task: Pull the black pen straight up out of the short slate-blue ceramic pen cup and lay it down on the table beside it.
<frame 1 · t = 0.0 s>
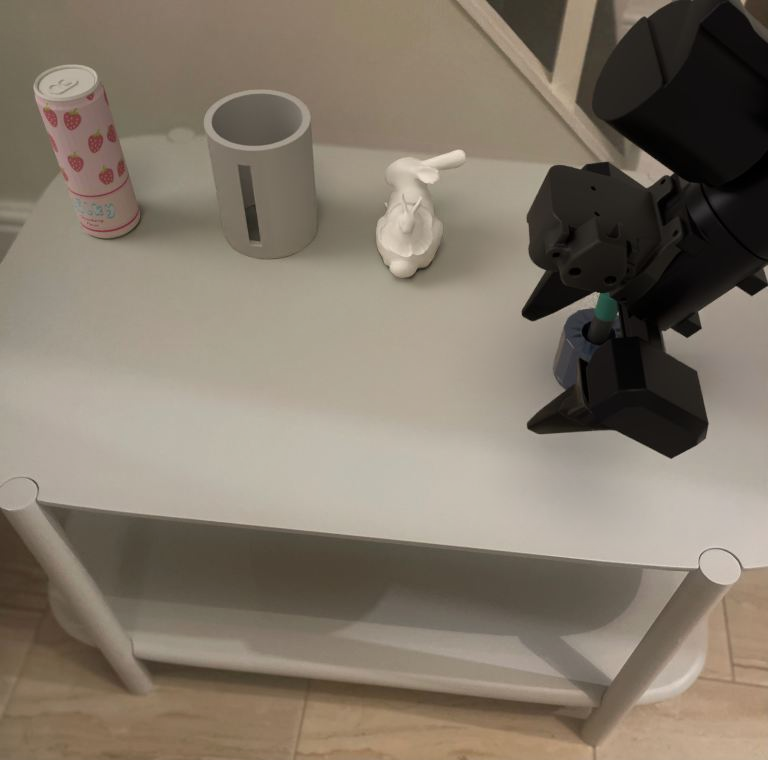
hand: (529, 369, 50), 13 cm above the table, tool tilted 35°, fingers open, 9 cm apart
pen cup: (585, 372, 67), on the table
beverage can: (112, 222, 78), on the table
rabbit figurine: (416, 246, 76), on the table
cup: (271, 228, 78), on the table
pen: (586, 368, 66), resting on pen cup
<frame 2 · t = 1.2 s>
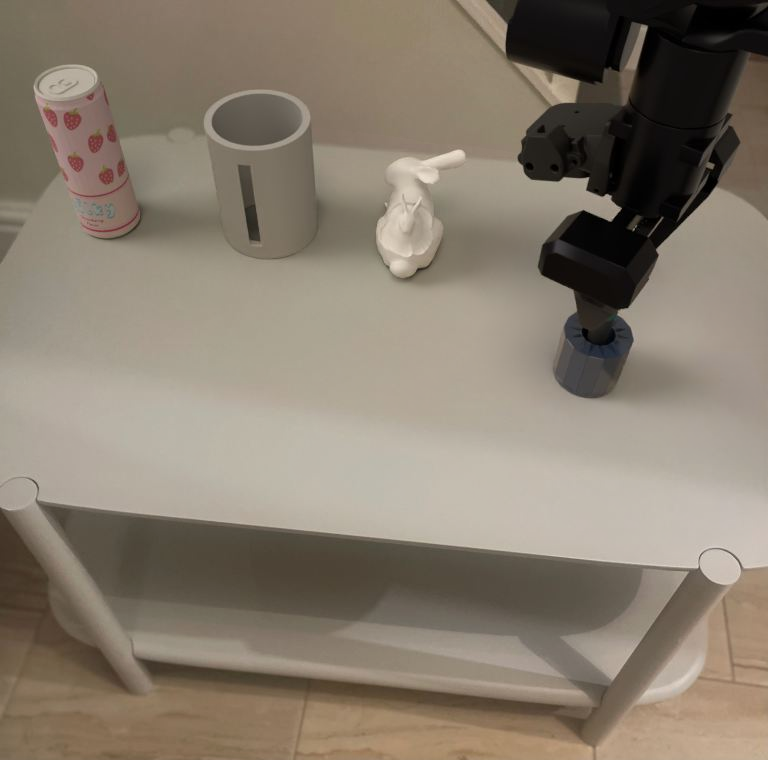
hand: (614, 290, 59), 10 cm above the table, tool pointing down, fingers open, 9 cm apart
nothing on the table moved.
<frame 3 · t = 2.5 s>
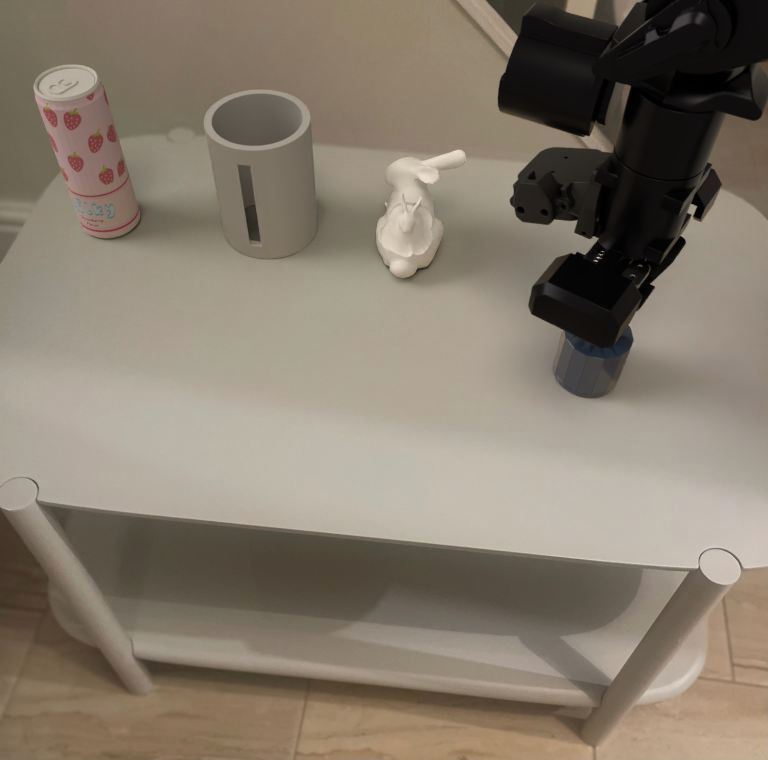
hand: (602, 322, 62), 6 cm above the table, tool pointing down, fingers closed on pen, 2 cm apart
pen: (586, 368, 66), point 1 cm above the table, touching gripper, pen cup
everything else where it was.
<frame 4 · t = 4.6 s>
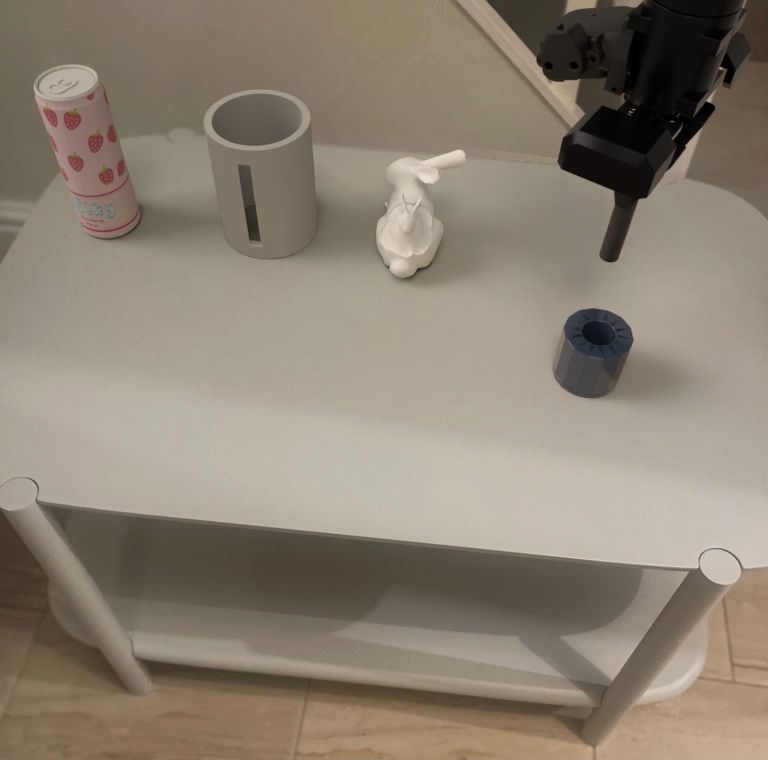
hand: (627, 200, 60), 13 cm above the table, tool pointing down, fingers closed on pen
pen: (608, 256, 65), point 7 cm above the table, touching gripper
everything else where it was.
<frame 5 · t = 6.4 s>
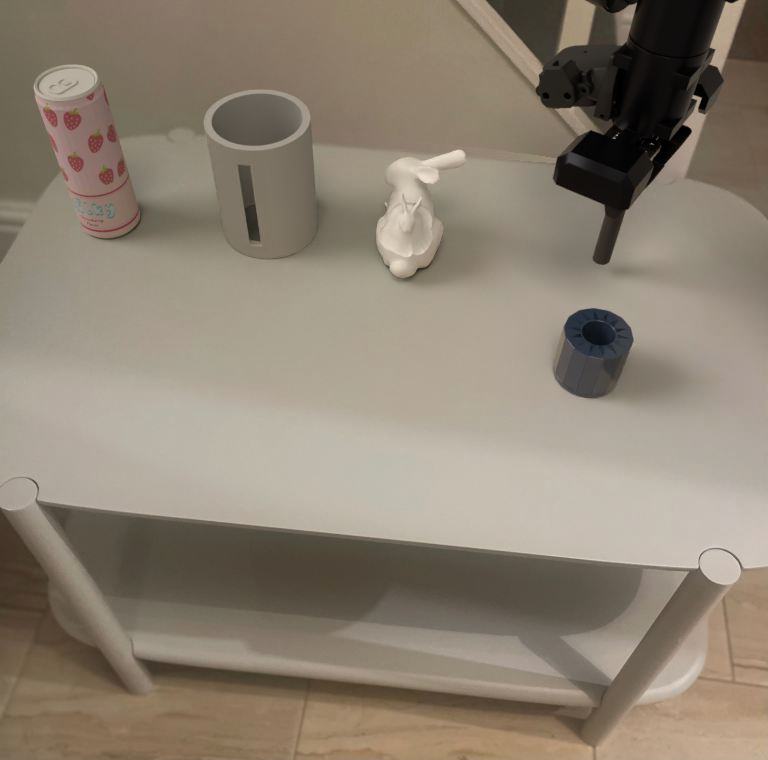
hand: (616, 210, 69), 7 cm above the table, tool pointing down, fingers closed on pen, 2 cm apart
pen: (601, 259, 73), point 1 cm above the table, touching gripper
everything else where it was.
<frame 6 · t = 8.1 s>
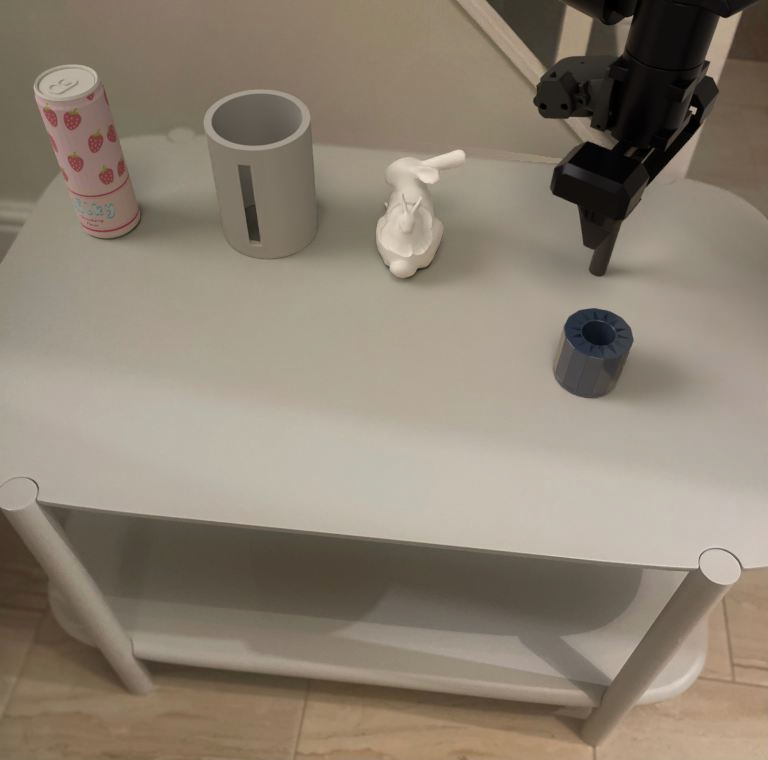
hand: (613, 218, 70), 6 cm above the table, tool pointing down, fingers open, 9 cm apart
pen: (597, 270, 74), on the table
everything else where it was.
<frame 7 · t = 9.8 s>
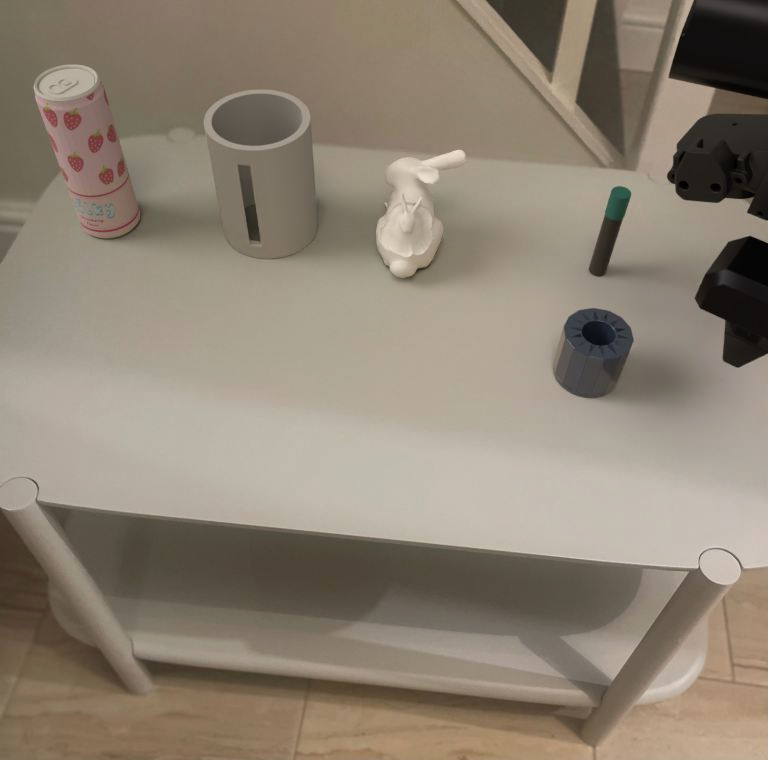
hand: (757, 321, 53), 13 cm above the table, tool pointing down, fingers open, 9 cm apart
nothing on the table moved.
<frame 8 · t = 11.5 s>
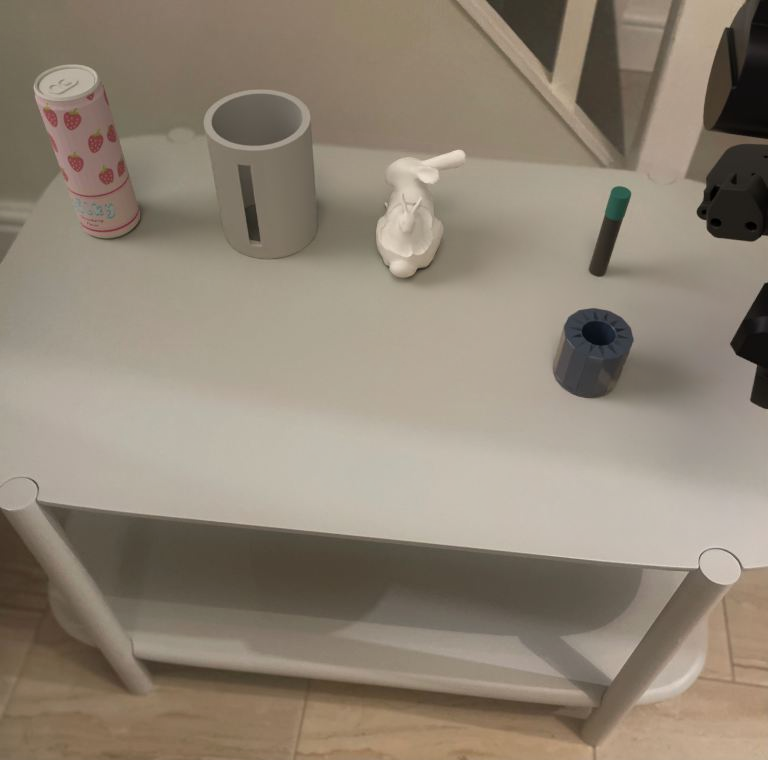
nothing on the table moved.
at the end: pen inside the target area (1.1 cm from its centre), on the table; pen touching table; the gripper is holding nothing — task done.
